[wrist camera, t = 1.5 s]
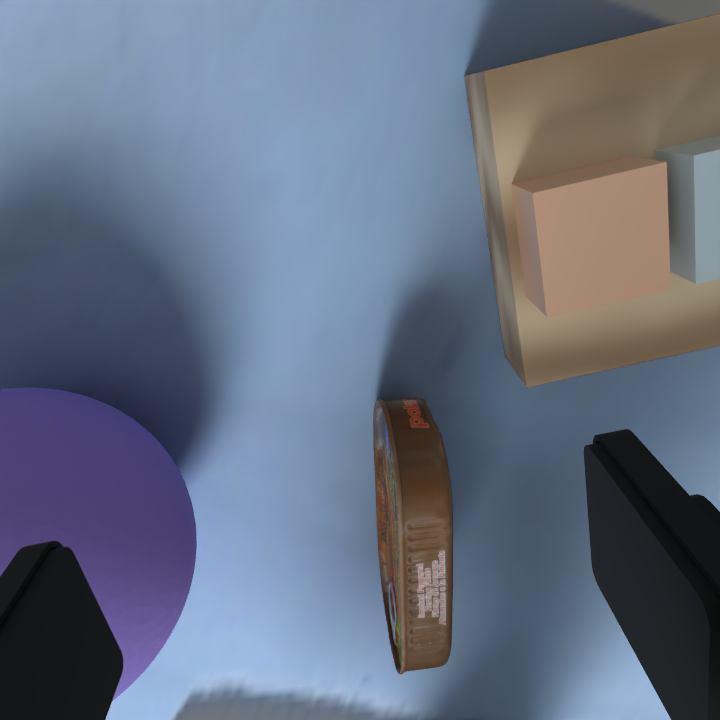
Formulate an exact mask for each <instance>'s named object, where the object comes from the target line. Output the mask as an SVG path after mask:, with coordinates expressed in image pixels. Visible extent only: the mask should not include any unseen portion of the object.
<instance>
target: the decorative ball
mask: <svg viewBox="0 0 720 720" xmlns="http://www.w3.org/2000/svg"><path fill="white" fill-rule="evenodd" d="M50 541H58V542H60V543H61V544H62V545H63V547H69V548H70V549H72V551H73V553H74V554H75V557H76V559H77V561H78V563H79V565H80V567H81V569H82V571H83V573H84V575H85V577H86V579H87V581H88V583H89V585H90V587H91V590H92V592H93V594H94V596H95V598H96V600H97V602H98V604H99V606H100V608H101V610H102V612H103V614H104V616H105V618H106V621H107V623H108V625H109V627H110V629H111V631H112V633H113V635H114V637H115V639H116V641H117V643H118V645H119V647H120V649H121V652H122V655H123V672H122V675H121V678H120V681H119V684H118V686H117V689H116V692H115V694H114V697H113V700H114V699H115V698H117V697H118V696H119V695H120V694H121V693H122V692H124V691H125V690H126V689H127V688H128V687H129V686H130V685H131V684H132V683H133V682H134V681H135V680H136V679H137V678H138V677H139V676H140V675H141V674H142V673H143V672H144V671H145V670H146V668H147V667H148V666H149V665H150V664H151V662H152V661H153V660H154V658H155V657H156V656H157V655H158V653H159V652H160V650H161V649H162V647H163V646H164V644H165V643H166V641H167V640H168V638H169V636H170V635H171V633H172V631H173V629H174V627H175V625H176V623H177V621H178V619H179V617H180V615H181V613H182V610H183V608H184V605H185V602H186V599H187V596H188V593H189V590H190V586H191V582H192V578H193V574H194V567H195V558H196V546H197V545H196V524H195V518H194V512H193V507H192V502H191V499H190V496H189V493H188V490H187V487H186V485H185V482H184V480H183V478H182V475H181V473H180V471H179V470H178V468H177V466H176V464H175V463H174V461H173V460H172V458H171V457H170V455H169V454H168V452H167V451H166V450H165V449H164V447H163V446H162V445H161V444H160V442H159V441H158V440H157V439H156V438H155V437H154V436H153V435H152V434H151V433H150V432H149V431H147V430H146V429H145V428H144V427H143V426H142V425H140V424H139V423H138V422H137V421H135V420H134V419H132V418H131V417H129V416H128V415H127V414H125V413H123V412H121V411H120V410H118V409H116V408H114V407H112V406H110V405H108V404H106V403H104V402H101V401H99V400H96V399H94V398H91V397H88V396H84V395H81V394H77V393H73V392H69V391H63V390H57V389H49V388H36V387H20V388H4V389H0V576H1V575H2V573H3V572H4V570H5V569H6V568H7V566H8V565H9V563H10V562H11V560H12V559H13V558H14V556H15V555H16V553H17V552H18V551H19V550H20V549H21V548H22V547H25V546H29V545H34V544H39V543H44V542H50ZM113 700H112V701H113Z"/></svg>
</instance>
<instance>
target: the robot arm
mask: <svg viewBox="0 0 720 720" xmlns="http://www.w3.org/2000/svg"><path fill="white" fill-rule="evenodd" d="M584 461H585V475H586V489H587V504H588V518H589V532H590V546H591V560H592V568H593V573H594V576H595V579H596V582H597V584H598V586H599V588H600V590H601V592H602V594H603V595H604V597H605V599H606V601H607V603H608V605H609V606H610V608H611V610H612V612H613V614H614V616H615V617H616V619H617V621H618V623H619V625H620V627H621V628H622V630H623V632H624V634H625V636H626V638H627V639H628V641H629V643H630V645H631V647H632V649H633V650H634V652H635V654H636V656H637V658H638V659H639V661H640V663H641V665H642V667H643V669H644V670H645V672H646V674H647V676H648V678H649V680H650V681H651V683H652V685H653V687H654V689H655V691H656V692H657V694H658V696H659V698H660V700H661V702H662V703H663V705H664V707H665V709H666V711H667V713H668V714H669V716H670V718H671V720H720V512H719V511H718V510H717V508H716V507H715V506H714V505H713V504H712V503H711V502H710V501H709V500H707V499H706V498H705V497H704V496H701V495H698V494H697V495H692V496H689V494H688V493H687V492H686V491H685V490H684V489H683V488H682V487H681V486H680V485H679V483H678V482H677V481H676V480H675V479H674V478H673V477H672V476H671V475H670V473H669V472H668V471H667V470H666V469H665V468H664V467H663V466H662V465H661V463H660V462H659V461H658V460H657V459H656V458H655V457H654V456H653V455H652V454H651V452H650V451H649V450H648V449H647V448H646V447H645V446H644V445H643V444H642V442H641V441H640V440H639V439H638V438H637V437H636V436H635V435H634V434H633V432H631V431H630V430H629V429H624V430H619V431H614V432H609V433H604V434H599V435H595V436H594V439H593V444H591V445H586V446H585V448H584ZM122 672H123V655H122V652H121V649H120V647H119V645H118V643H117V641H116V639H115V637H114V635H113V633H112V631H111V629H110V627H109V625H108V623H107V621H106V618H105V616H104V614H103V612H102V610H101V608H100V606H99V604H98V602H97V600H96V598H95V596H94V594H93V592H92V590H91V587H90V585H89V583H88V581H87V579H86V577H85V575H84V573H83V571H82V569H81V567H80V565H79V563H78V561H77V559H76V557H75V554H74V553H73V551H72V549H70V548H69V547H63V545H62V544H61V543H60V542H58V541H50V542H44V543H39V544H34V545H29V546H25V547H22V548H21V549H20V550H19V551H18V552H17V553H16V555H15V556H14V558H13V559H12V560H11V562H10V563H9V565H8V566H7V568H6V569H5V570H4V572H3V573H2V575H1V576H0V720H105V719H106V716H107V713H108V711H109V708H110V705H111V702H112V700H113V697H114V694H115V692H116V689H117V686H118V684H119V681H120V678H121V675H122Z"/></svg>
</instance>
